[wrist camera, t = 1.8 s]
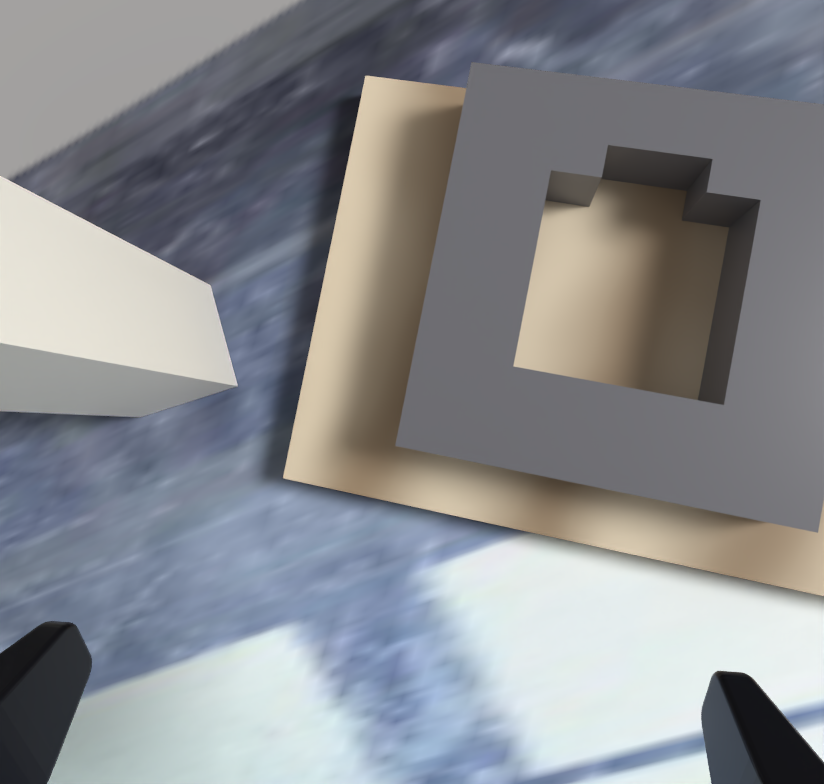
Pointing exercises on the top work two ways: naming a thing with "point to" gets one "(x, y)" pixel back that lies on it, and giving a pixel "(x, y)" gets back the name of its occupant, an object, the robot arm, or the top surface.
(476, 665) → the top surface
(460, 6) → the top surface
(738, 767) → the robot arm
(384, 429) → the board
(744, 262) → the socket
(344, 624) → the top surface
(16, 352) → the plug
